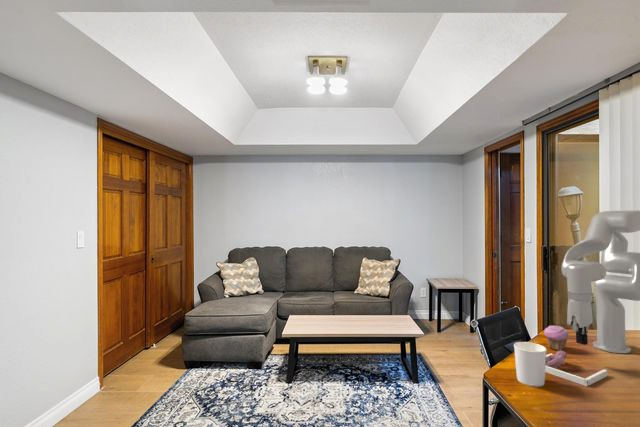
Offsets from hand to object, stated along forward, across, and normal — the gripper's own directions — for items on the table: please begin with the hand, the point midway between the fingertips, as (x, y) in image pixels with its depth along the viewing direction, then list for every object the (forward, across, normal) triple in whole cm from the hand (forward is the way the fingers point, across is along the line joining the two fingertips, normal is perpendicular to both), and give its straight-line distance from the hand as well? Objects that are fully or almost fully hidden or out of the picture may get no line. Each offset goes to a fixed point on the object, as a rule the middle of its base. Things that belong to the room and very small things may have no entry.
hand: (582, 343), depth 137 cm
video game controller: (+8, +10, -4) cm, 13 cm away
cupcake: (+9, -8, -13) cm, 18 cm away
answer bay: (+7, +12, 0) cm, 14 cm away
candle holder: (+7, +32, -2) cm, 32 cm away
